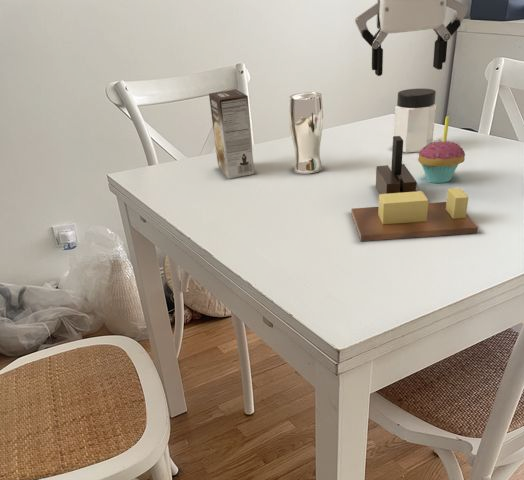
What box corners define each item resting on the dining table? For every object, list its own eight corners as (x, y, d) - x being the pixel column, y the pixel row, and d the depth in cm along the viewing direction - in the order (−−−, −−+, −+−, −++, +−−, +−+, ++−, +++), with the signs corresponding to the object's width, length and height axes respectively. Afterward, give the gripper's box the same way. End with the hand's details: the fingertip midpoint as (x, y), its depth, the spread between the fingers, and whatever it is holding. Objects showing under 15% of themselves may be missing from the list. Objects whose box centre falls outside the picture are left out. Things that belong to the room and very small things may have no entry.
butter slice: (457, 208, 90) (460, 187, 88) (465, 218, 86) (468, 196, 84) (445, 209, 90) (447, 188, 88) (453, 219, 86) (455, 197, 84)
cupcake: (422, 171, 111) (427, 108, 104) (465, 174, 107) (474, 109, 100) (412, 184, 104) (417, 119, 98) (457, 188, 101) (466, 120, 94)
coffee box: (217, 168, 124) (207, 92, 115) (243, 164, 125) (236, 88, 116) (228, 179, 117) (218, 99, 108) (255, 174, 118) (249, 94, 109)
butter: (420, 211, 90) (421, 190, 88) (426, 221, 86) (428, 200, 84) (378, 214, 91) (379, 194, 89) (382, 224, 87) (383, 203, 85)
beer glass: (322, 174, 114) (321, 97, 106) (290, 175, 116) (286, 99, 107) (325, 164, 120) (324, 91, 111) (294, 165, 121) (290, 93, 113)
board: (455, 206, 93) (456, 200, 93) (477, 233, 84) (478, 227, 83) (351, 213, 94) (351, 208, 94) (360, 241, 85) (360, 235, 84)
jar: (428, 142, 128) (433, 87, 122) (435, 151, 122) (441, 93, 115) (390, 144, 129) (393, 90, 122) (395, 153, 123) (399, 96, 116)
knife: (394, 188, 103) (397, 133, 98) (401, 201, 98) (405, 142, 92) (388, 189, 103) (391, 133, 98) (395, 201, 98) (398, 143, 92)
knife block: (402, 184, 105) (403, 163, 103) (415, 204, 96) (416, 181, 94) (375, 186, 105) (376, 166, 103) (385, 206, 96) (386, 184, 94)
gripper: (466, -63, 82) (454, 63, 92) (352, -50, 83) (352, 73, 93) (482, -67, 76) (468, 69, 85) (358, -52, 77) (358, 80, 86)
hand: (407, 71), depth 89 cm, fingers open, 9 cm apart
